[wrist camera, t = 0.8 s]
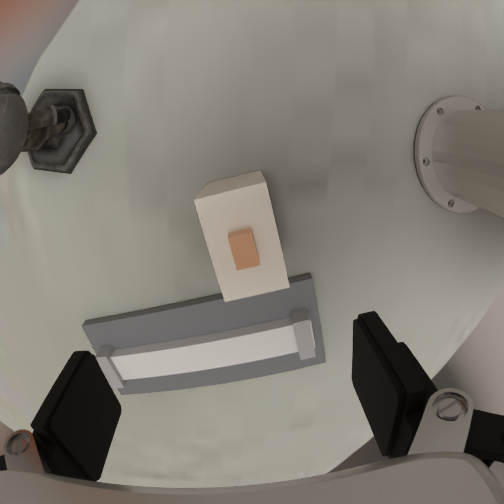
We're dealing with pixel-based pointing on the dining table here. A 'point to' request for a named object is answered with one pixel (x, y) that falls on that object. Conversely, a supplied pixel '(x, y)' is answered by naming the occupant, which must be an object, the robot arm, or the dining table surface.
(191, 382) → the rail plate
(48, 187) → the dining table surface
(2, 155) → the figurine
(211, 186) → the block
